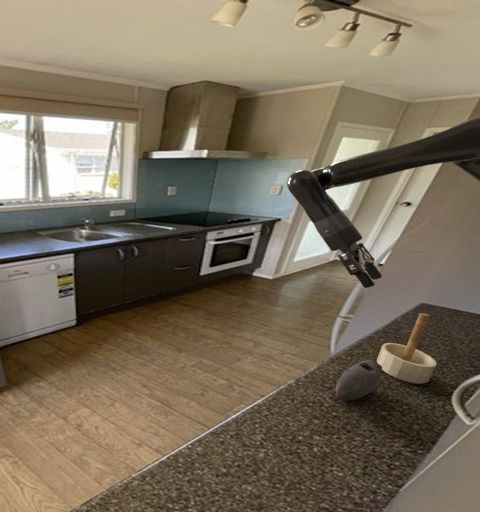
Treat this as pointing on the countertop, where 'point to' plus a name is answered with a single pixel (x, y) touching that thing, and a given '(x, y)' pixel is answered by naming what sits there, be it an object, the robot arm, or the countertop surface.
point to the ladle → (415, 336)
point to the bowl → (406, 364)
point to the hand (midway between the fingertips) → (374, 282)
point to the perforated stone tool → (359, 380)
